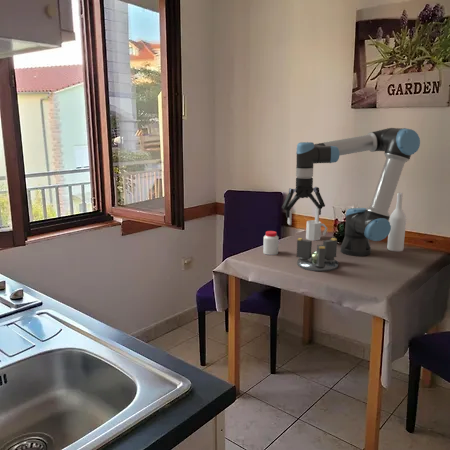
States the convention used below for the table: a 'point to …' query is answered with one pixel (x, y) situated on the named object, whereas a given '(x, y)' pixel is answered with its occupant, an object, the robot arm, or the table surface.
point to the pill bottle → (270, 243)
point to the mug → (314, 230)
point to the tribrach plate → (313, 268)
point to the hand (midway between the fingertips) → (303, 223)
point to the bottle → (397, 227)
